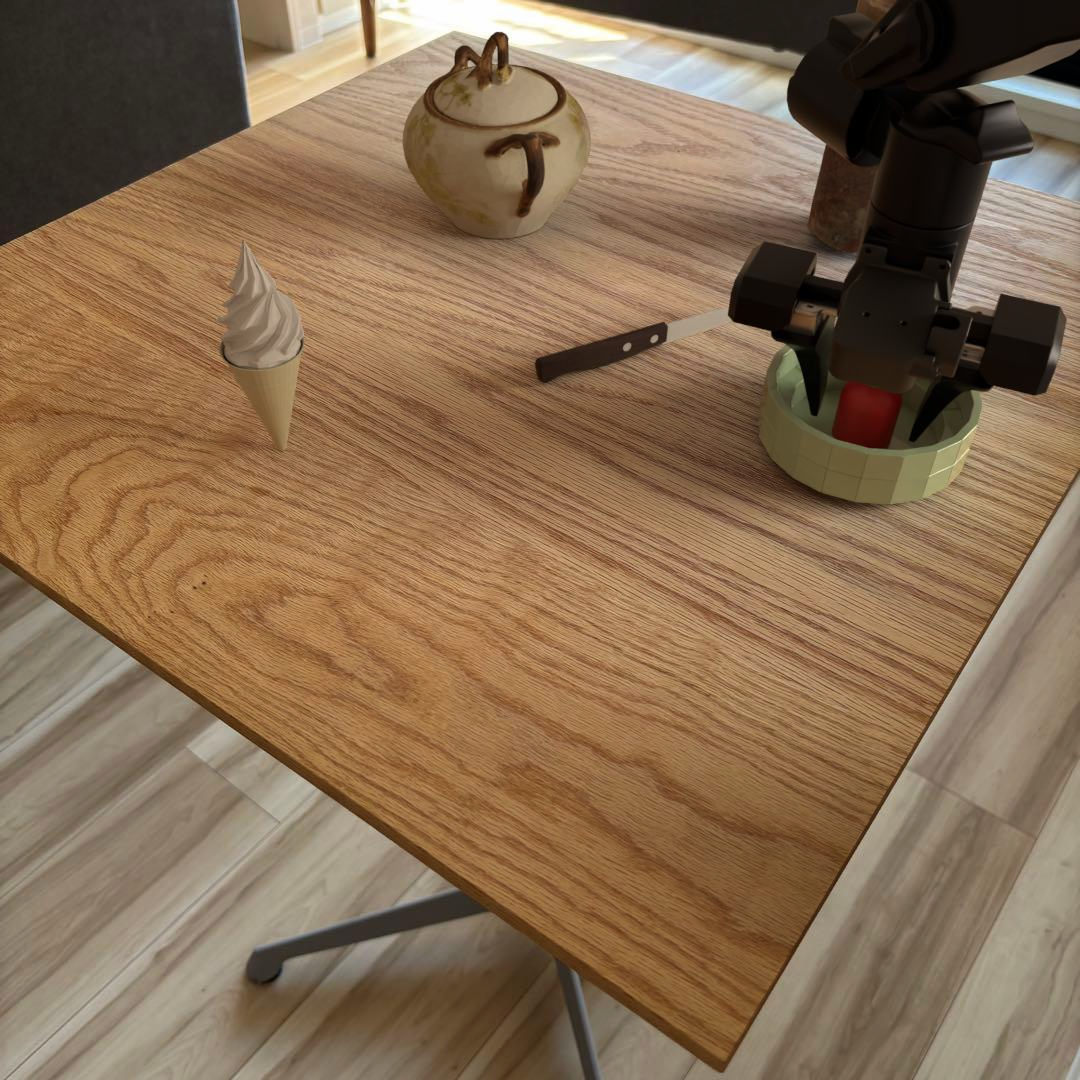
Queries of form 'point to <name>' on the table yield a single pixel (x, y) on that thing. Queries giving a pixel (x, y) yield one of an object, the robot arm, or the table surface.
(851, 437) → the sriracha sauce bottle
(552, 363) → the kitchen knife
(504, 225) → the sugar bowl
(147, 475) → the table surface
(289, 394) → the ice cream cone
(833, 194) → the candle
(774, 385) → the serving bowl
